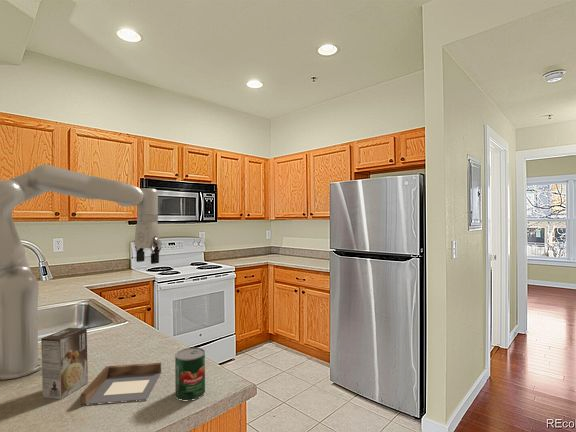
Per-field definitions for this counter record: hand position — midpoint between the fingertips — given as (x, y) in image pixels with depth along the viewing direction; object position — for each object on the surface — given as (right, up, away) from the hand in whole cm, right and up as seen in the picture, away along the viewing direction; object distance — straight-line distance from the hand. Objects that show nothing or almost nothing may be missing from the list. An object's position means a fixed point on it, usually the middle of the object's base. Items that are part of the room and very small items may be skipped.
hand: (147, 262), depth 133 cm
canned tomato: (+29, -30, -42) cm, 59 cm away
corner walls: (+10, -30, -38) cm, 50 cm away
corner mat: (+10, -30, -38) cm, 50 cm away
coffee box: (-6, -31, -39) cm, 50 cm away
